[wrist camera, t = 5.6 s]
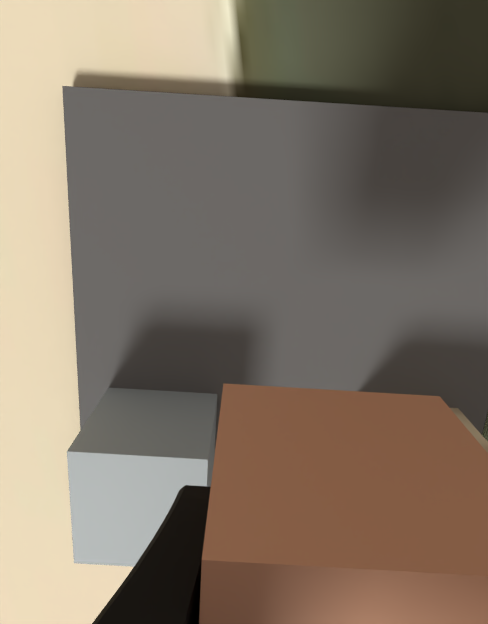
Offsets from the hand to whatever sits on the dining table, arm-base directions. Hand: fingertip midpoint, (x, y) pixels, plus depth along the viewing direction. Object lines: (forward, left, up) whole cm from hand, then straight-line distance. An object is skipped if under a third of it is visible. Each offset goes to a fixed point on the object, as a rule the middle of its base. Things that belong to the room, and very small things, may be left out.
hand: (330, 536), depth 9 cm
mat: (0, 0, -10) cm, 10 cm away
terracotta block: (0, 0, -1) cm, 1 cm away
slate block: (-4, +5, -10) cm, 12 cm away
